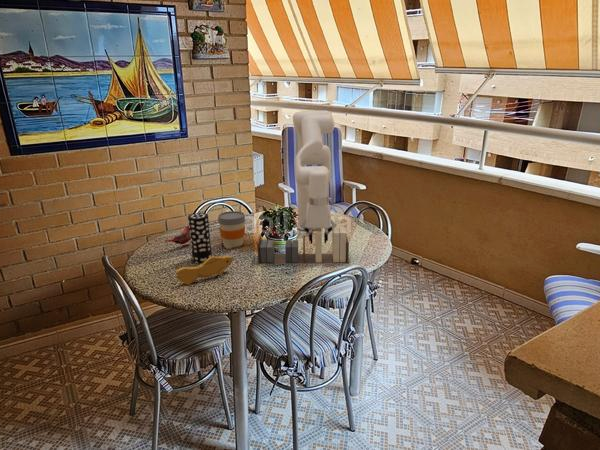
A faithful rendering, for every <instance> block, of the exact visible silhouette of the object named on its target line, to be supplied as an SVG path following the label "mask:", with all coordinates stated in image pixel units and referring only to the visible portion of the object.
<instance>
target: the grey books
mask: <svg viewBox="0 0 600 450" xmlns="http://www.w3.org/2000/svg"><path fill="white" fill-rule="evenodd" d="M284 251H285V252H284V254H285V255H286V263H291V262H292V263H294V262H298V254H299V239H286V240H285V246H284ZM274 254H275V240H274V239H269V240H267V239H265V240H264V239H263V240H262V239H261V245H260V258H261V263H273V260H274Z"/></svg>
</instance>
